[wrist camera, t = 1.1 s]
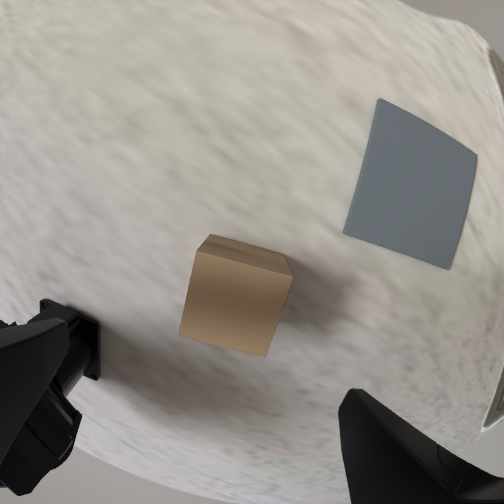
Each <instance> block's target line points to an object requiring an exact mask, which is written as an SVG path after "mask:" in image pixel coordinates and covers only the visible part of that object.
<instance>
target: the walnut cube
mask: <svg viewBox="0 0 504 504" xmlns="http://www.w3.org/2000/svg"><path fill="white" fill-rule="evenodd" d="M293 277H294V276H293V274H292V272H291V270H290V267H289V265H288V263H287V261H286V259H285V257H284V254H282V253H279V252H275V251H271V250H268V249H264V248H260V247H257V246H253V245H249V244H246V243H242V242H238V241H235V240H231V239H227V238H223V237H220V236H216V235H212V234H210V235H209V236H208V237H207V239H206V240H205V241H204V242H203V244H202V245H201V246H200V247H199V248H198V250H197V251H196V256H195V260H194V264H193V269H192V273H191V278H190V282H189V287H188V292H187V296H186V301H185V306H184V311H183V316H182V321H181V326H180V331H179V336H182V337H186V338H189V339H193V340H197V341H200V342H204V343H208V344H211V345H215V346H219V347H223V348H227V349H231V350H235V351H240V352H244V353H248V354H253V355H257V356H262V357H266V354H267V351H268V349H269V346H270V343H271V341H272V338H273V335H274V332H275V329H276V327H277V324H278V321H279V318H280V315H281V312H282V310H283V307H284V304H285V301H286V298H287V295H288V292H289V289H290V286H291V283H292V280H293Z"/></svg>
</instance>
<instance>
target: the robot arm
mask: <svg viewBox="0 0 504 504" xmlns="http://www.w3.org/2000/svg"><path fill="white" fill-rule="evenodd" d="M44 304H45V305H44ZM93 325H94V326H95V328H94V327H93ZM83 375H84V376H86V377H88V378H90V379H93V380H95V381H97V380H98V379H99V378H100V325H99V323H98V322H97V321H95V320H93V319H91V318H88V317H86V316H83V315H81V314H78V313H76V312H75V311H73V310H70V309H68V308H66V307H63V306H61V305H59V304H57V303H54V302H51V301H49V300H47V299H42V300H41V301H40V313H39V314H37V315H36V316H35V317H33V318H32V319H31V320H29V321H28V322H27V324H24V325H17V324H16V322H13V323H12V324H10V325H8V323H7V324H6V323H4V322H3V321H2V320H0V488H6V487H8V488H9V489H10V490H11V491H12V492H13V493H15V494H16V495H17V496H22V495H25V494H29V493H31V492H32V491H33V489H34V488H35V487H36V485H37V484H38V483H39V482H40V480H41V479H42V478H43V477H44V476H45V475H46V474H47V473H48V472H49V471H50V470H52V469H55V468H57V467H59V466H60V465H61V464H62V463H63V462H64V461H65V460H66V459H67V458H68V457H69V455H70V453H71V452H72V449H73V446H74V442H75V439H76V435H77V432H78V429H79V425H80V422H81V419H82V414H81V413H80V412H79V411H78V410H76V409H75V408H74V407H73V406H72V404H71V403H70V402H69V401H68V400H67V398H66V396H67V395H68V394H69V392H70V391H71V390H72V389H73V387H74V386H75V385H76V383H77V382H78V381H79V379H80V378H81V377H82V376H83ZM338 417H339V427H340V439H341V450H342V456H343V461H344V466H345V472H346V477H347V482H348V488H349V493H350V499H351V504H504V478H501V477H496V476H494V475H491V474H489V473H487V472H485V471H483V470H481V469H480V468H478V467H476V466H474V465H472V464H470V463H468V462H466V461H465V460H463V459H461V458H459V457H457V456H456V455H454V454H453V453H451V452H450V451H448V450H447V449H445V448H444V447H442V446H441V445H439V444H437V443H436V442H435V441H433V440H432V439H430V438H429V437H428V436H426V435H425V434H423V433H422V432H420V431H419V430H418V429H416V428H415V427H413V426H412V425H411V424H409V423H408V422H406V421H405V420H404V419H402V418H401V417H399V416H398V415H397V414H395V413H394V412H392V411H391V410H390V409H388V408H387V407H386V406H384V405H383V404H382V403H380V402H379V401H378V400H376V399H375V398H374V397H372V396H371V395H370V394H368V393H367V392H366V391H364V390H363V389H354V388H352V389H350V390H349V391H348V392H347V394H346V396H345V398H344V399H343V401H342V403H341V405H340V407H339V410H338Z"/></svg>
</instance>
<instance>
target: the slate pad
mask: <svg viewBox="0 0 504 504" xmlns="http://www.w3.org/2000/svg"><path fill="white" fill-rule="evenodd" d="M476 160H477V154H475V153H474V152H473V151H471V150H470V149H468V148H467V147H465V146H464V145H463V144H461V143H460V142H458V141H457V140H455V139H453V138H452V137H450V136H449V135H447V134H446V133H444V132H442V131H441V130H439V129H437V128H436V127H434V126H432V125H431V124H429V123H427V122H426V121H424V120H422V119H420V118H418V117H417V116H415V115H413V114H411V113H409V112H407V111H405V110H403V109H401V108H400V107H398V106H396V105H394V104H391V103H389V102H387V101H385V100H383V99H381V98H380V99H378V100H377V105H376V109H375V114H374V119H373V123H372V127H371V132H370V136H369V140H368V144H367V149H366V153H365V156H364V160H363V164H362V168H361V172H360V176H359V179H358V183H357V186H356V190H355V194H354V197H353V200H352V204H351V207H350V211H349V214H348V217H347V220H346V224H345V227H344V230H343V233H344V234H346V235H350V236H353V237H356V238H359V239H362V240H365V241H368V242H371V243H374V244H377V245H380V246H383V247H386V248H389V249H392V250H395V251H398V252H401V253H403V254H406V255H409V256H412V257H415V258H418V259H420V260H423V261H426V262H429V263H431V264H434V265H437V266H440V267H442V268H445V269H448V270H449V267H450V264H451V261H452V258H453V255H454V252H455V249H456V246H457V243H458V239H459V236H460V233H461V229H462V226H463V222H464V218H465V214H466V210H467V206H468V202H469V197H470V193H471V188H472V183H473V178H474V172H475V167H476Z"/></svg>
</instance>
